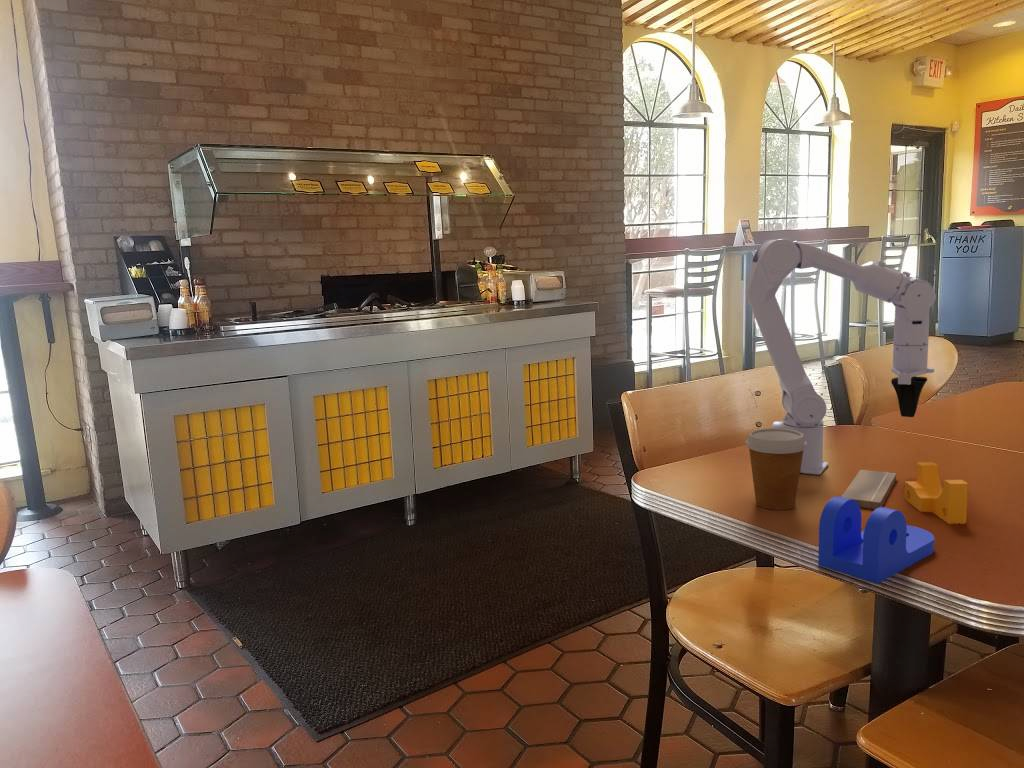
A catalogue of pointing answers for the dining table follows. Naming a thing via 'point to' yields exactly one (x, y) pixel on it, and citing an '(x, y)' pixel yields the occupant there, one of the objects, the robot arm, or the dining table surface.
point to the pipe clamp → (937, 494)
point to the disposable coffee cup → (776, 466)
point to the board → (870, 488)
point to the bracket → (869, 541)
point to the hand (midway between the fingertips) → (907, 416)
